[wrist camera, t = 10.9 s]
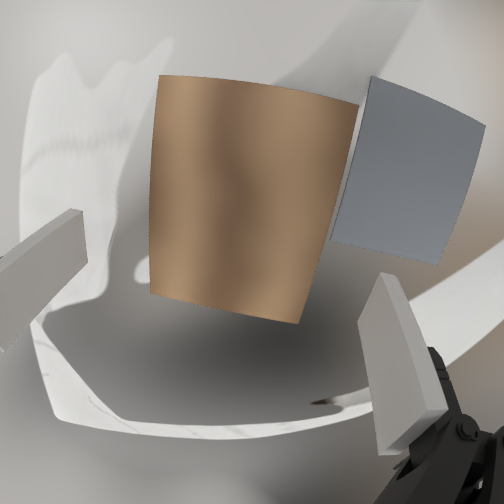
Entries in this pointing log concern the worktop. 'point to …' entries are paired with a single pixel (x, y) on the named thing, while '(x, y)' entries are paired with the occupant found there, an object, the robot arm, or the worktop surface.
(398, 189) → the mat
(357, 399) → the worktop surface
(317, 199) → the board
